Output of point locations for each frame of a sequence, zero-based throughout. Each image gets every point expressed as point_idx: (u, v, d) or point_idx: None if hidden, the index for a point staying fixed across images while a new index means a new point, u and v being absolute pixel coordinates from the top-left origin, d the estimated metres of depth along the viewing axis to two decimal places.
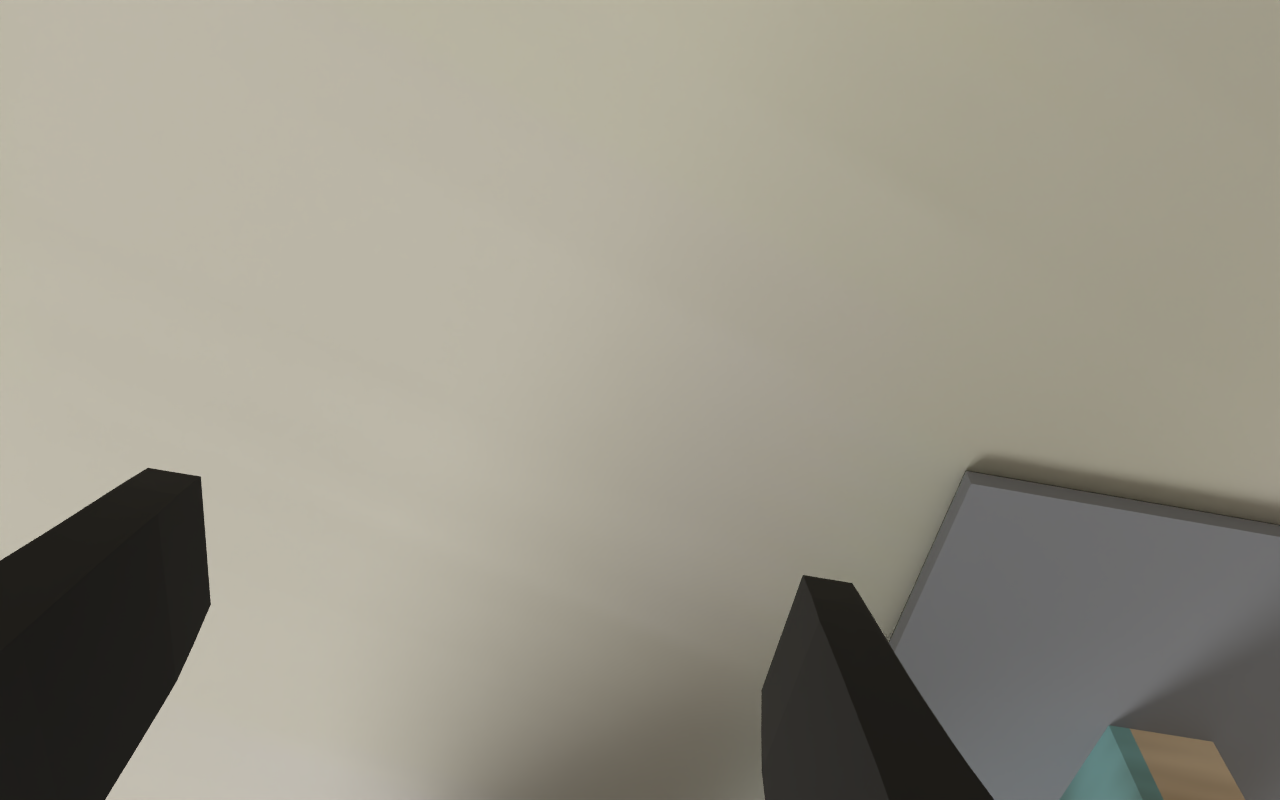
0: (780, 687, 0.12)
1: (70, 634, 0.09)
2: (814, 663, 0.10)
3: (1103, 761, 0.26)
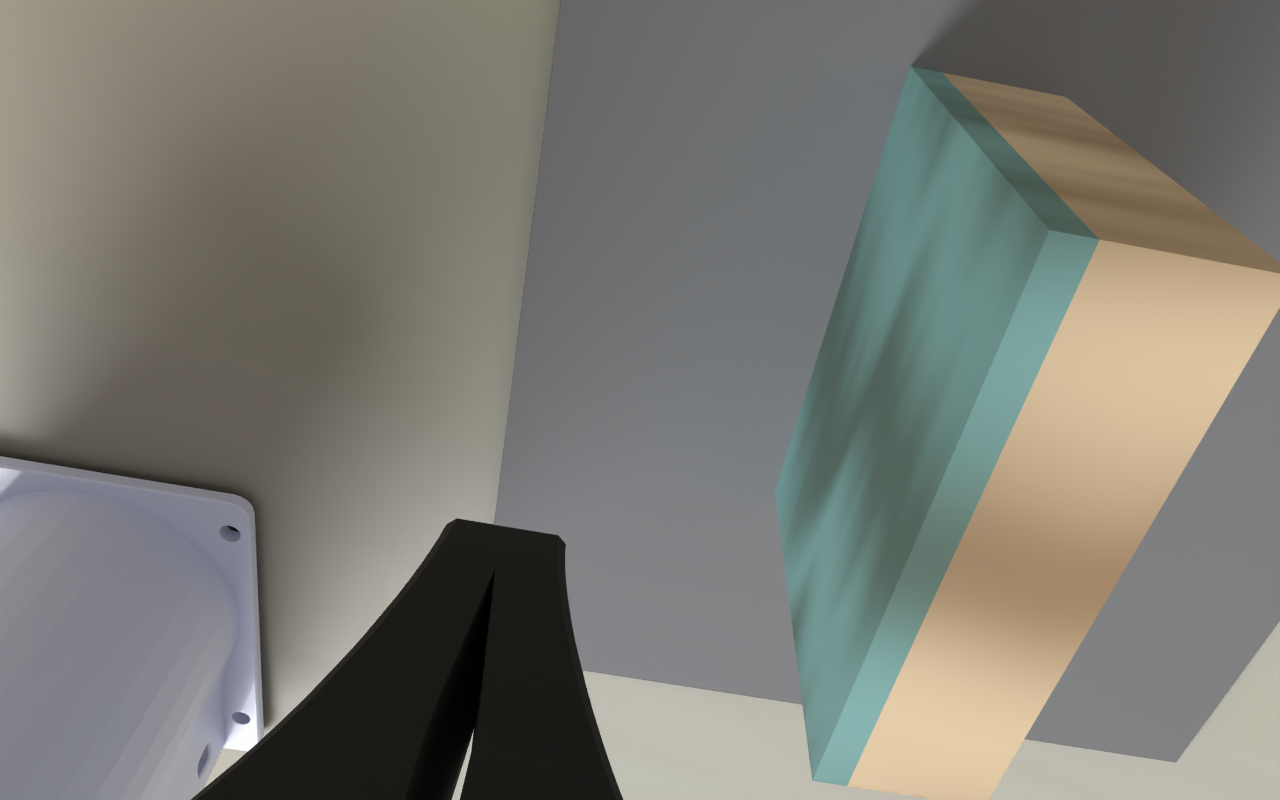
0: None
1: (452, 692, 0.09)
2: (490, 612, 0.10)
3: (902, 118, 0.18)
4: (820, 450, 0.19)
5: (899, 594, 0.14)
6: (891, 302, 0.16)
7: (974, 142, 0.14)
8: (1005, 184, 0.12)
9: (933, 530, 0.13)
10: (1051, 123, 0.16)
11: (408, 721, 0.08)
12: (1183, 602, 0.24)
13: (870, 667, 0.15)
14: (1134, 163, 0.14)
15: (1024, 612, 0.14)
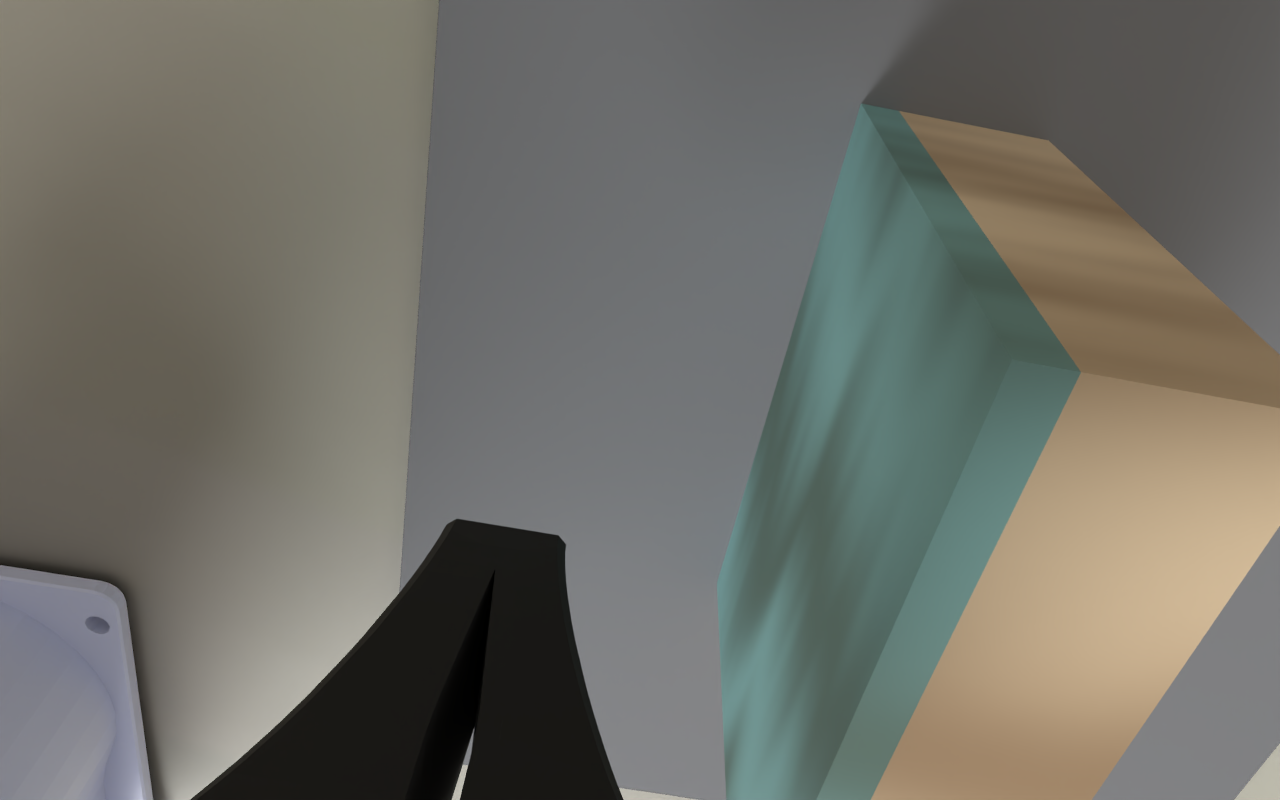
0: None
1: (452, 692, 0.09)
2: None
3: (850, 166, 0.15)
4: (759, 553, 0.16)
5: (830, 788, 0.11)
6: (832, 395, 0.13)
7: (925, 213, 0.11)
8: (959, 279, 0.10)
9: (870, 717, 0.10)
10: (1027, 180, 0.13)
11: (408, 721, 0.08)
12: (1185, 703, 0.21)
13: None
14: (1129, 236, 0.12)
15: None
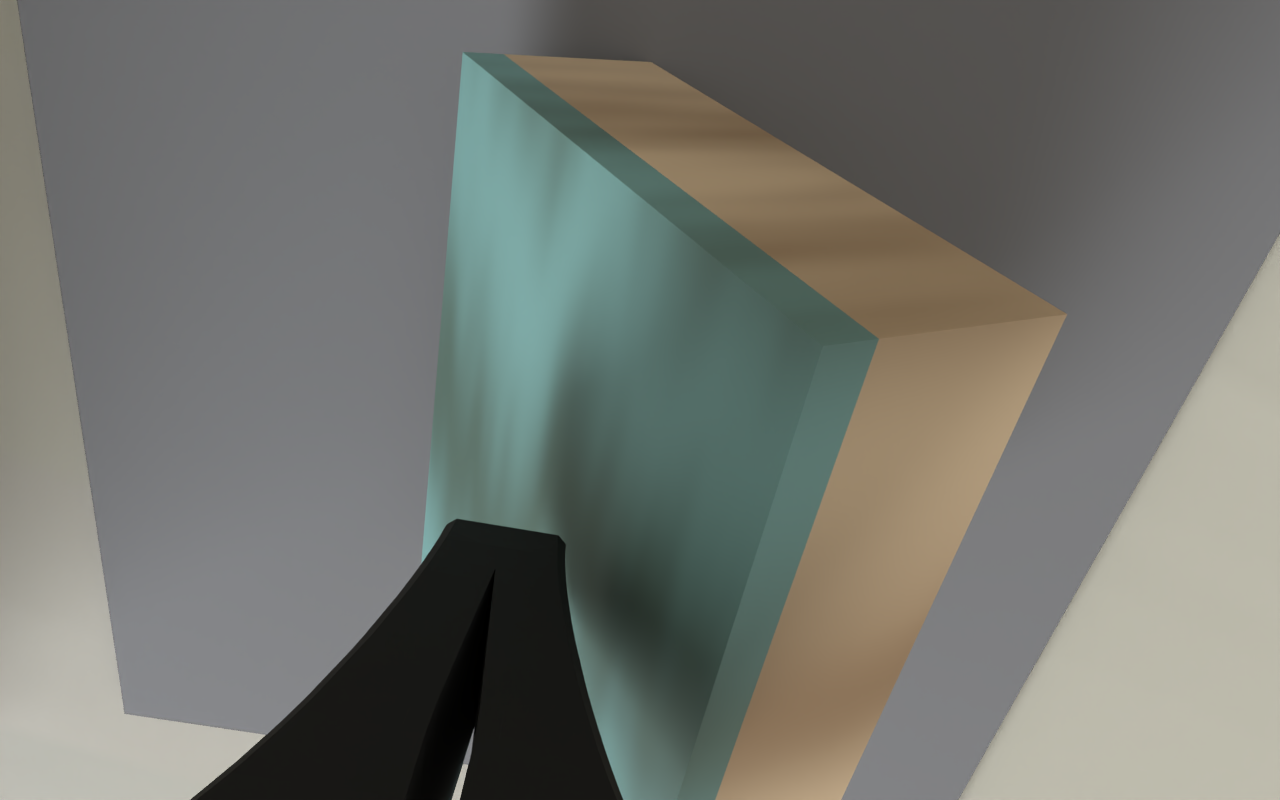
0: None
1: (452, 692, 0.09)
2: None
3: (472, 124, 0.13)
4: None
5: (685, 790, 0.11)
6: (540, 384, 0.12)
7: (622, 183, 0.10)
8: (706, 258, 0.09)
9: (716, 714, 0.10)
10: (671, 115, 0.12)
11: (408, 721, 0.08)
12: (912, 659, 0.21)
13: None
14: (791, 161, 0.12)
15: (817, 738, 0.12)
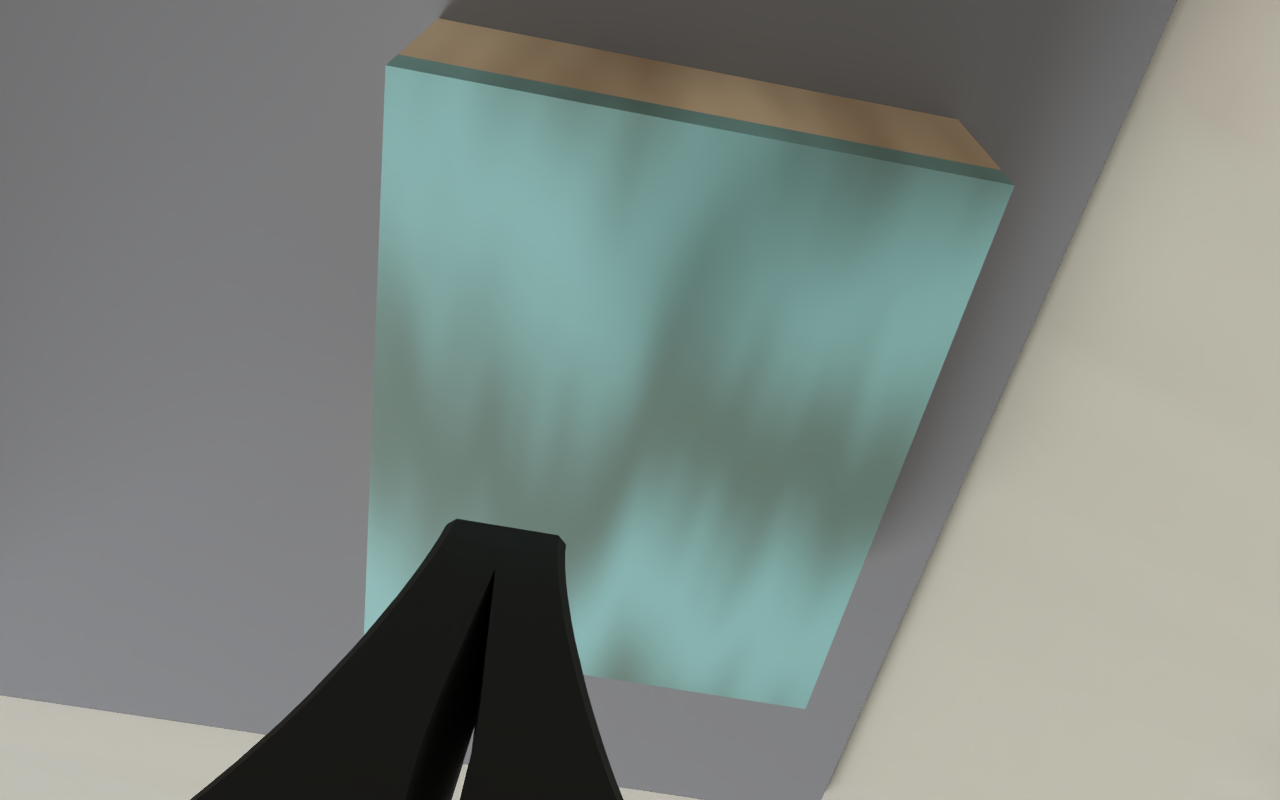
0: None
1: (452, 692, 0.09)
2: None
3: (427, 138, 0.12)
4: None
5: (877, 522, 0.15)
6: (627, 339, 0.14)
7: (756, 136, 0.12)
8: (882, 164, 0.12)
9: (900, 457, 0.15)
10: (598, 67, 0.14)
11: (408, 721, 0.08)
12: None
13: None
14: (708, 76, 0.14)
15: None
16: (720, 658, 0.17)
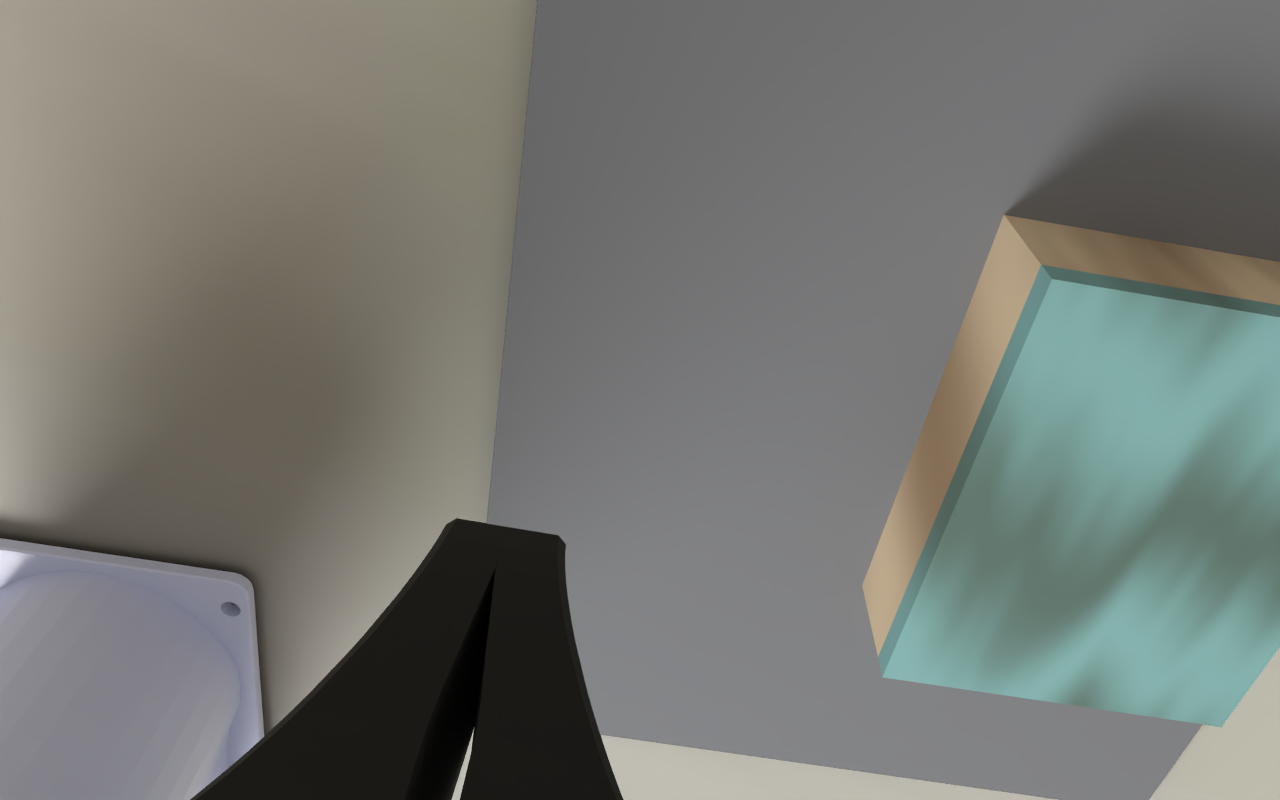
0: None
1: (452, 692, 0.09)
2: None
3: (1065, 325, 0.17)
4: (1033, 599, 0.20)
5: None
6: (1168, 458, 0.18)
7: None
8: None
9: None
10: (1148, 258, 0.18)
11: (407, 721, 0.08)
12: None
13: None
14: (1210, 256, 0.19)
15: None
16: (1164, 688, 0.22)
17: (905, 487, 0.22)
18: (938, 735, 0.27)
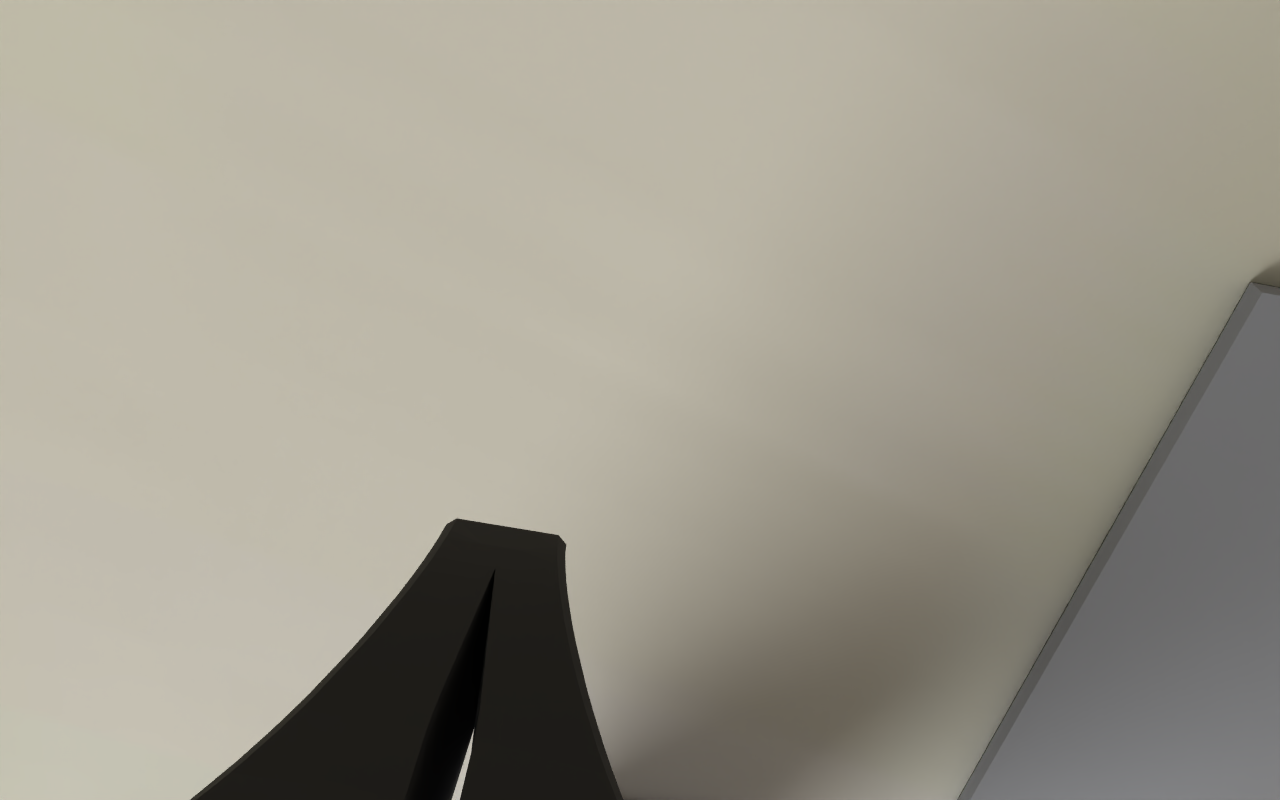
0: None
1: (452, 692, 0.09)
2: None
3: None
4: None
5: None
6: None
7: None
8: None
9: None
10: None
11: (408, 721, 0.08)
12: None
13: None
14: None
15: None
16: None
17: None
18: None
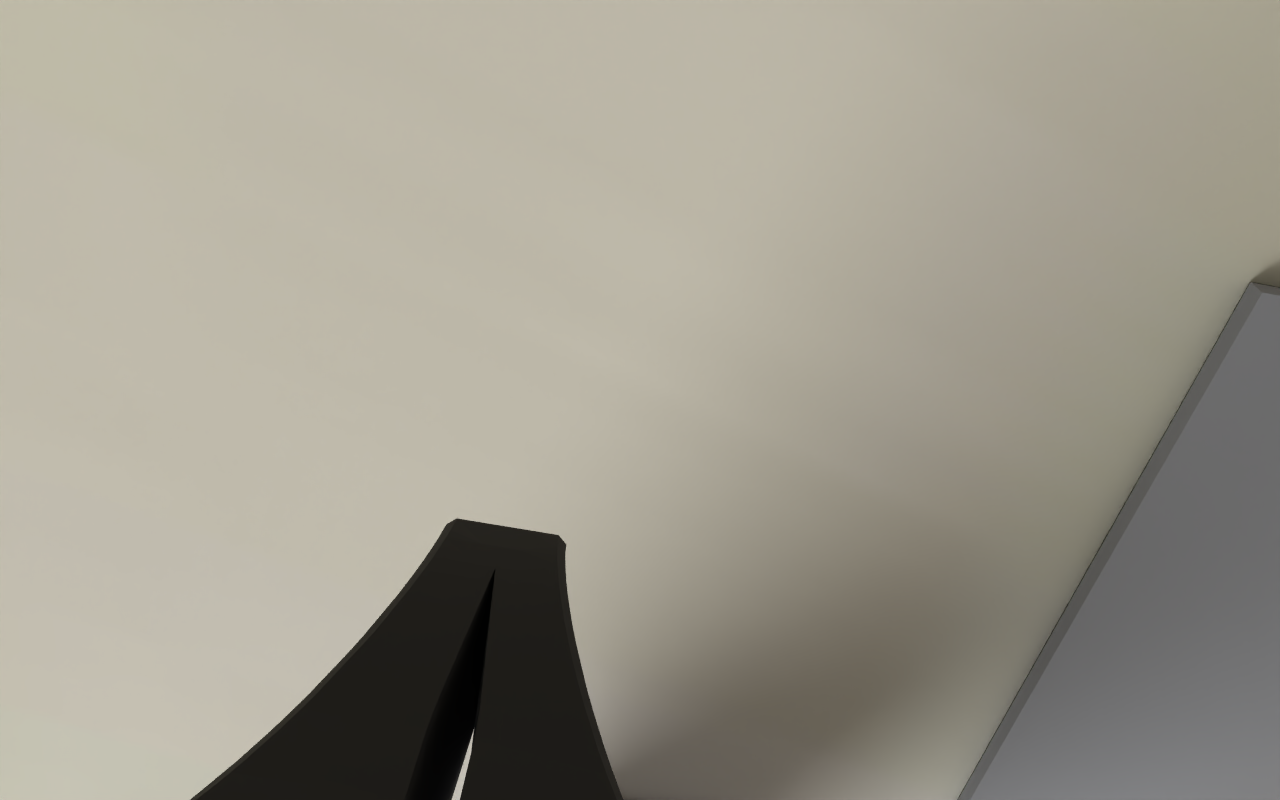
0: None
1: (452, 692, 0.09)
2: None
3: None
4: None
5: None
6: None
7: None
8: None
9: None
10: None
11: (408, 721, 0.08)
12: None
13: None
14: None
15: None
16: None
17: None
18: None
